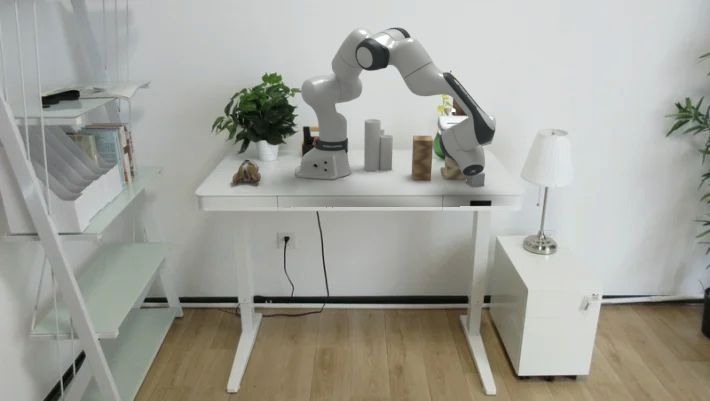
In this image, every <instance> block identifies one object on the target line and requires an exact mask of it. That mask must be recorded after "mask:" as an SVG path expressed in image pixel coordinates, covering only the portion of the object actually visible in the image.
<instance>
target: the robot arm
mask: <svg viewBox="0 0 710 401" xmlns="http://www.w3.org/2000/svg"><path fill="white" fill-rule="evenodd" d="M388 66H393V67H395V68H396V69H397V71H398V72H399V74H400V75H401V78H402V79H403V82H404V83H405V85H406V87H407V88H408V90H409V91H410V92H411V93H412V94H413V95H416V96H418V97H433V96H437V95H438V96H440V95H446V96H450V97H451V98H452V99H453V98H454V99H455V101H456V102H457V103H458V104H459V106H460V107H461V108H462V109H463V111H464V112H465V113H466V114H467V116H453V115H455V109H451V110H450V113H449V115H448V116H447V115H440V116H439V117H437V126H438V129H437V134H438V135H439V139H438V140H439V147H440V150H441V152H442V153H443V155H445V156H447V157H448V158H450V159H452V160H454V161H456V162H457V163H458V165H459V167H460V170H461V172H462V173H463V174H464V175H466V176H474V175H477V174H479V173H481V172H484V169H485V164H486V157H485V150H484V147H485V146H488V145H491V144H492V143H493V140H494V136H495V134H496V126H497V120H496V117H495V116H494V115H488V114H487V113H486V112H485V111H484V110H483V109H482V108H481V107H480V106H479V104H478V103H477V102H476V100H475V99H474V98H473V97H472V95H470V93H469V92H468V91H467V90H466V89H465V87H464V85H462V83H461V82H460V81H459V80H458V79H457V78H456V77H455V76H454V75H453V74H452V73H451V72H448V71H447V72H444V71H442V70H441V69H439V68H438V67H437V66H436V64H435V63H434V61H433V59H432V57H431V56H430V54H429V53H428V52H427V51H426V49H425V47H424V46H423V45H422V44H421V43H420V41H419V40H417V38H415V37H411V35H410V33H409V32H408V31H407V30H406V29H405V28H402V27H391V28H387V29H385V30H382V31H379V32H377V33H375V34H374V33H372V31H370V30H369V29H367V28H365V27H357V28H354V29H353V30H352V31H351V32H350V33H349V34H348V35H347V37H345V39H344V40H343V42H342V44H341V45H340V46H339V48H338V50H337V52H336V54H335V55H334V57H333V58H332V60H331V70H332V72H333V73H331V74H326V75H317V76H313V77H310V78H307V79H305V80H304V81H303V83H302V85H301V88H300V93H301V98H302V100H303V101H304V102H305V104H306V105H308V106H309V107H311V109H312V110H313V111H314V113H315V115H316V118H317V124H318V125H317V126H318V136H314V137H313V146H314V147H313V148H311V149H310V150H309V151H308V152H306V153H305V154H304V155H303V157H302V158H301V161H300V165H299V166H297V167H296V168H295V171H294V173H295V174H294V175H295V176H296V177H297V178H303V179H319V180H330V181H331V180H333V181H334V180H337V179H339V178H342V177H347V176H348V175H350V174H351V173H352V169H351V166H350V163H349V162H350V160H349V154H348V153H349V138H348V124H347V123H348V121H347V119H346V117H345V116H344V115H343V114H342V113H340V112H338V111H337V108H336V104H341V103H348V102H351V101H354V100H355V99H356V100H357V99H358V98H359V97H360V96H361V94H362V93H363V92H362V91H363V83H362V82H363V81H362V80H361V78H360V77H359V76H360V75H361V73H362V72H363V70H364V71H369V72H373V71H380V70H383V69H386V68H387V67H388ZM483 146H484V147H483Z"/></svg>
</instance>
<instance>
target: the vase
mask: <svg viewBox="0 0 710 401" xmlns="http://www.w3.org/2000/svg"><path fill="white" fill-rule="evenodd" d="M381 124H382V122H381V120H380V119H376V118H369V119H365V120H364V150H363V151H364V154H363V156H364V160H363V163H364V166H363V168H364V170H365V171H368V172H376V171H379V170H380V171H385V172H386V171H391V170H392V169H393V142H394V141H393V140H394V137H393V135H391V134H385V129H381Z"/></svg>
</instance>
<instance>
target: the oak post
mask: <svg viewBox="0 0 710 401" xmlns="http://www.w3.org/2000/svg"><path fill="white" fill-rule="evenodd" d="M433 145H434V140H433V137H432V135H413V136H412V153H411V154H412V156H411V157H412V158H411V177H412V181H431V180H432V166H433V147H434V146H433Z"/></svg>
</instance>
